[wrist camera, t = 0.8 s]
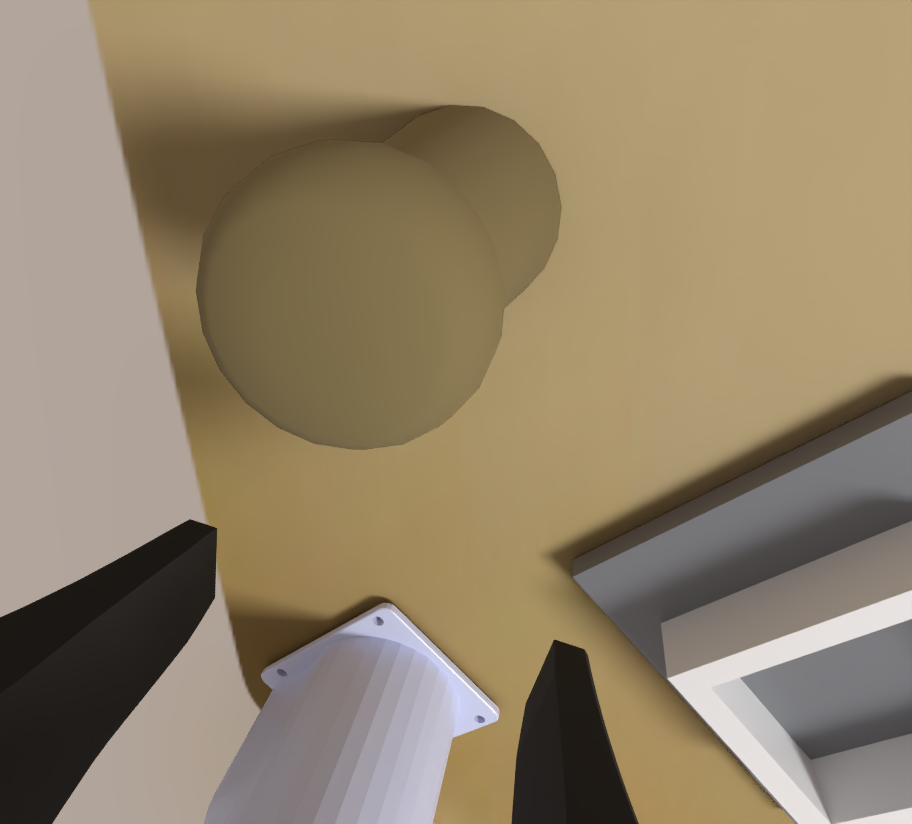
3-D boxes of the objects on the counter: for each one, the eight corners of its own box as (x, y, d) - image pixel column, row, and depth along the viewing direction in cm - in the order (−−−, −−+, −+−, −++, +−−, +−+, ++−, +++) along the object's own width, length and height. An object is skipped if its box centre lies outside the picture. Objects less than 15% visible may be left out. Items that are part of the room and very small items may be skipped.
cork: (587, 131, 17) (570, 173, 7) (531, 330, 20) (466, 547, 10) (382, 83, 17) (111, 62, 8) (357, 284, 20) (139, 448, 11)
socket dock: (800, 813, 27) (825, 902, 24) (573, 559, 24) (569, 627, 20) (1159, 732, 22) (1251, 836, 18) (934, 379, 18) (1003, 436, 15)
